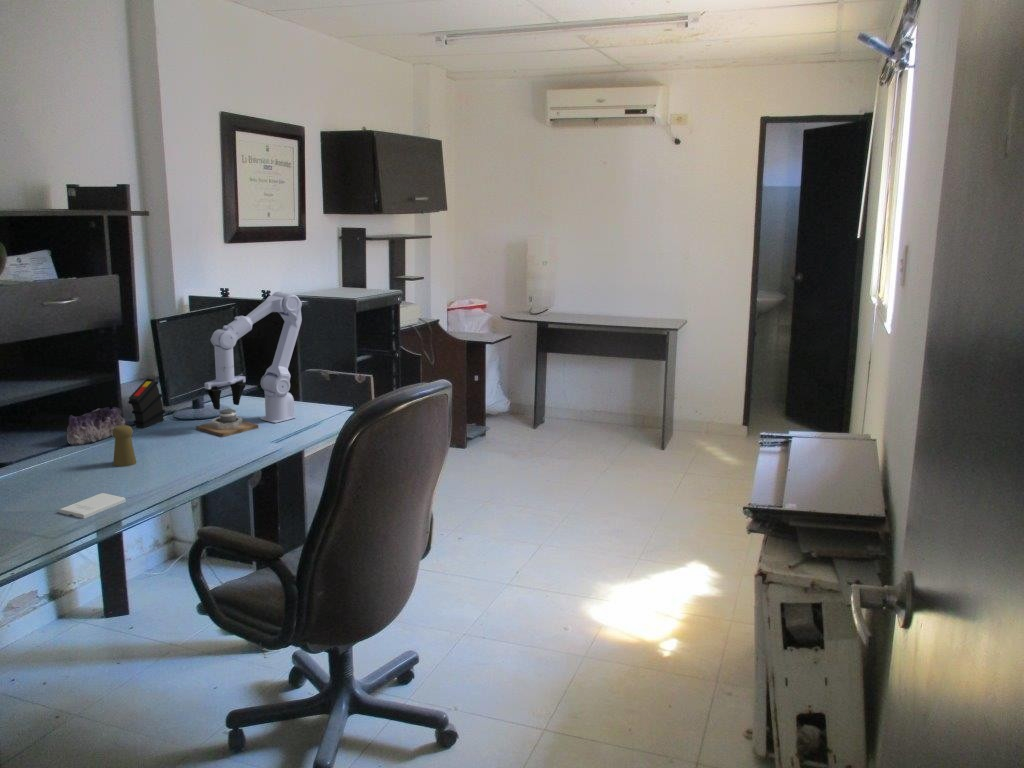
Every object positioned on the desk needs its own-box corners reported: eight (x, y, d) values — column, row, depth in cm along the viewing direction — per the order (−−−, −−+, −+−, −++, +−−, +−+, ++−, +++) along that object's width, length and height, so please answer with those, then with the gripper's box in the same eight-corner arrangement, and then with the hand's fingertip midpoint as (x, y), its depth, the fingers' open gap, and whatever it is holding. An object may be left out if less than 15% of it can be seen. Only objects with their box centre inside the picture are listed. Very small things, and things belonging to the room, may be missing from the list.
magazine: (170, 413, 283) (156, 378, 273) (149, 438, 272) (134, 403, 263) (160, 412, 283) (146, 377, 274) (139, 437, 273) (123, 402, 264)
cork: (114, 460, 237) (111, 424, 235) (137, 459, 239) (134, 422, 237) (112, 467, 232) (109, 429, 229) (135, 465, 234) (133, 428, 231)
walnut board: (231, 420, 282) (231, 417, 282) (258, 427, 275) (258, 425, 275) (195, 429, 271) (195, 426, 271) (223, 436, 264) (222, 433, 263)
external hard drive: (126, 503, 207) (84, 520, 196) (101, 498, 210) (59, 514, 199) (125, 497, 207) (83, 514, 195) (101, 492, 210) (58, 508, 198)
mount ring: (230, 420, 279) (229, 414, 279) (248, 425, 274) (247, 419, 274) (206, 425, 271) (205, 420, 271) (224, 431, 266) (224, 425, 266)
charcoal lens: (228, 423, 276) (228, 408, 275) (239, 425, 274) (239, 410, 272) (216, 426, 271) (216, 411, 270) (228, 428, 269) (227, 413, 268)
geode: (92, 448, 248) (84, 417, 246) (59, 450, 250) (51, 418, 248) (134, 428, 267) (127, 398, 265) (103, 430, 270) (96, 400, 267)
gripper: (213, 371, 260) (215, 413, 263) (250, 364, 272) (252, 404, 275) (199, 368, 264) (201, 409, 267) (237, 361, 276) (238, 401, 279)
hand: (226, 406), depth 271 cm, fingers open, 7 cm apart
